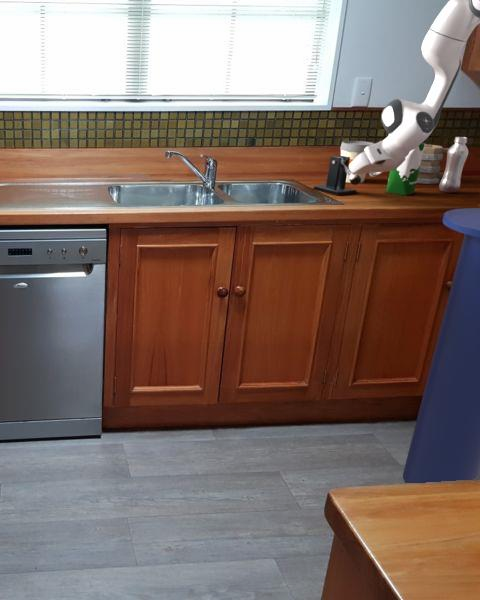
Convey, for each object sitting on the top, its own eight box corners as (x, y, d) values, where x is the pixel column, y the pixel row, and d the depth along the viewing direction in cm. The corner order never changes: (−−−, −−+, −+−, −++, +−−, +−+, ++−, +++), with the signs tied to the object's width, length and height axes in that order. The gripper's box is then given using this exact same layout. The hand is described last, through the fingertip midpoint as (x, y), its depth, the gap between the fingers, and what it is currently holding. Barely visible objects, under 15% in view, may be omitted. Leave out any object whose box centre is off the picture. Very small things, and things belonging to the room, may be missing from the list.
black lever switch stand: (356, 193, 223) (362, 158, 219) (337, 195, 220) (343, 159, 215) (331, 187, 234) (337, 153, 229) (313, 189, 230) (318, 154, 225)
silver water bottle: (442, 189, 231) (454, 135, 224) (461, 192, 226) (475, 137, 219) (434, 191, 227) (447, 137, 220) (454, 194, 223) (468, 139, 215)
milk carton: (407, 196, 219) (419, 139, 212) (382, 192, 226) (393, 137, 218) (417, 193, 225) (429, 137, 217) (392, 189, 231) (403, 135, 224)
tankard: (404, 182, 243) (412, 144, 238) (401, 177, 254) (409, 140, 248) (461, 186, 236) (470, 147, 231) (456, 181, 247) (465, 143, 241)
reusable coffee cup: (328, 178, 251) (334, 141, 245) (356, 177, 253) (363, 140, 247) (346, 184, 239) (353, 145, 233) (375, 183, 241) (382, 144, 236)
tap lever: (359, 186, 218) (365, 178, 216) (351, 187, 217) (357, 179, 214) (338, 162, 225) (343, 155, 223) (331, 163, 224) (336, 155, 221)
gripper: (407, 143, 208) (378, 167, 220) (363, 146, 200) (336, 171, 212) (416, 158, 206) (386, 182, 218) (371, 162, 198) (343, 186, 210)
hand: (361, 176), depth 215 cm, fingers open, 8 cm apart
